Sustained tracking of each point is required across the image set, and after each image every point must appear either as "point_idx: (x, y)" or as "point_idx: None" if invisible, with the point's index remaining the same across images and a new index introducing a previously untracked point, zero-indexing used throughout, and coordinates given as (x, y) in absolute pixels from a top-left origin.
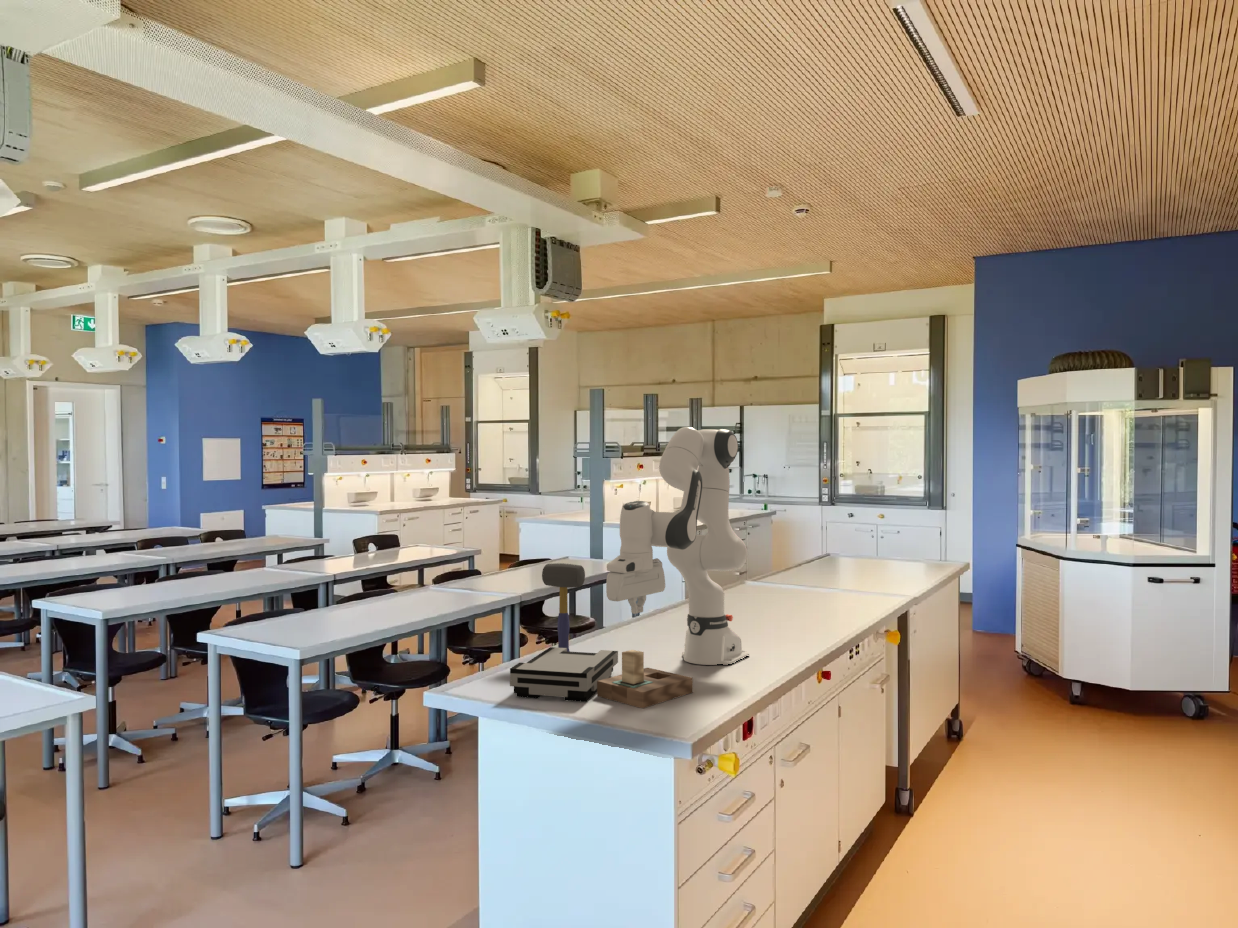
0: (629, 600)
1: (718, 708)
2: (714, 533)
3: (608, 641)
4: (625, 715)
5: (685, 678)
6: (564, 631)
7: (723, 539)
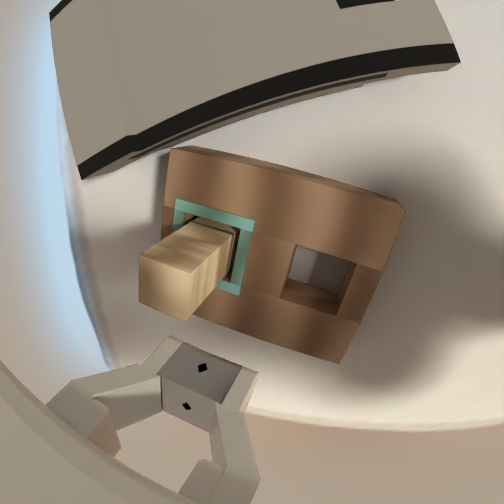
0: (72, 396)
1: (256, 395)
2: None
3: None
4: (127, 270)
5: (323, 352)
6: None
7: None
